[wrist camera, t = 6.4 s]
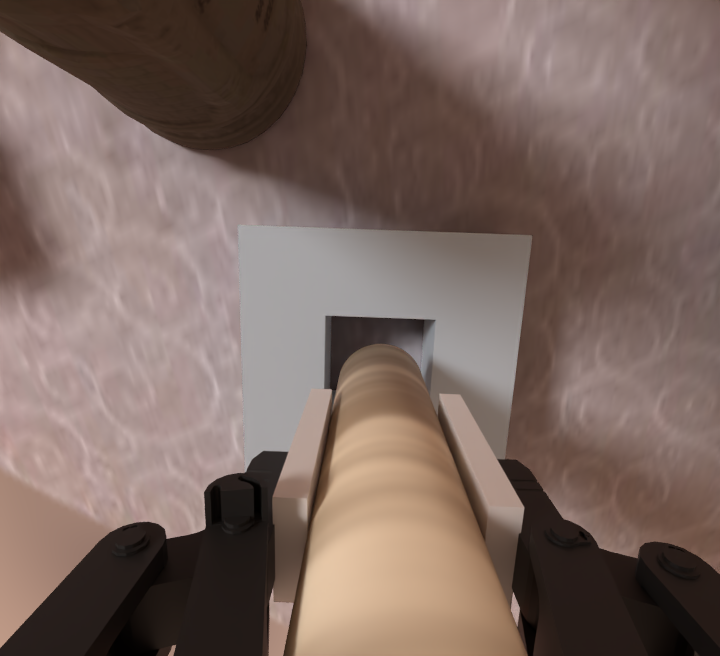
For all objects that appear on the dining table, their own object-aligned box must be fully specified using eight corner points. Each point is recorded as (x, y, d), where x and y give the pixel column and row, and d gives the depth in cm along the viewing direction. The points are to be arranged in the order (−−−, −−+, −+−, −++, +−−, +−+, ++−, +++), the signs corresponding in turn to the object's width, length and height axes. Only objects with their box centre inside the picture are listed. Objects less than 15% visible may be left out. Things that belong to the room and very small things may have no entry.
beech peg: (339, 342, 20) (233, 748, 4) (425, 345, 20) (639, 769, 4) (337, 421, 21) (243, 1002, 5) (419, 424, 21) (579, 1020, 5)
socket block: (258, 225, 24) (237, 224, 20) (505, 234, 24) (532, 235, 20) (262, 449, 27) (245, 486, 23) (481, 458, 27) (500, 496, 23)
